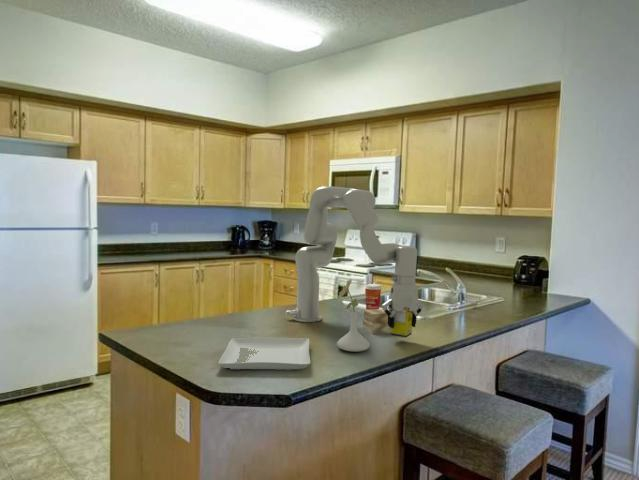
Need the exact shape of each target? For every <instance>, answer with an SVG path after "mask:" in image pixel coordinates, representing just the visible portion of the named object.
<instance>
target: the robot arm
mask: <svg viewBox="0 0 639 480" xmlns="http://www.w3.org/2000/svg"><path fill="white" fill-rule="evenodd" d="M375 206H376V197H375V195H374V194H373V193H372V192H371V191H369V190H364V189H356V188H350V187H342V186H340V187H339V186H332V185H331V186H329V185H327V186H320V187H318V188H316V189H314V191H313V192H312V193H311V195H310V199H309V209H308V214H307V217H306V223H305V228H304V232H303V239H304V242H305V243H306V244H307V245H312V246H303V247H301V248H299V249H298V250H297V252H296V253H295V255H294V256H295V257H294V259H295V266H296V276H297V277H296V284H297V285H296V286H297V287H296V307H294V309H292V310H285V316H292V319H293V320H294V321H296V322H299V323H300V322H302V323H315V322H316V321H317V322H320V321H322V320H323V316H322V315H320V314H319V311H320V310H319V303H320V275H319V272H318V271H317V268H324V267H325V268H326V267H327V266H329V265H330V263H331V262H332V260H333V256H334V253H335V248H336V246H337V245H336V244H337V240H338V231H337V229H336V226H335V225H334V224H333V223H331V222H328V221H329V220H328V219H329V210H328V208H343V209H346V210H347V211H348V213H349V214H350V216H351V217H352V220H353V221H354V222H355V224H356V226H357V227H358V229H359V239H360V240H359V241H360V245H361V247H362V249H363V251H364V253H365V254H366V255H367V257H368V258H369V259H370V260H371V262H372V263H374V264H375V265H380V266H381V265H388V264H395V265H394V275H393V276H391V279H390V280H391V281H393V282H392V284H391V288H390V292H389V299H388V300H387V301H385V302H384V303H382V304H381V309H383V310H384V312H385V313H386V314H387V315H388V326H389V327H391V328H394V317H393V316H394V314H395V313H396V312H402V311H403V308H408V307H409V308H410V310H409V311H410V312H411V311H413V317H412V328H416V325H417V317H418V316H419V314H420V313H421V312H422V310H423V309H424V306H425V304H424V303H422V302H421V301H420V300H419V288H418V284H417V283H416V276H417V275H416V274H417V262H418V261H417V260H418V258H417V257H418V250H417V248H416V247H415V246H411V245H402V244H398V243H395V242H394V243H393V242H390V243H382V242H381V240H380V239H379V238H378V237H377V235H376V231H375V227H376V226H377V225H378V223H379V221H380V218H379V216H378V214H377V213H376V211H375V210H374V208H375ZM313 245H314V246H313ZM388 308H389V309H388ZM392 310H393V311H392Z"/></svg>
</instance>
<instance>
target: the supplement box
mask: <svg viewBox="0 0 639 480" xmlns="http://www.w3.org/2000/svg"><path fill="white" fill-rule="evenodd" d="M409 310H410V308H409V307H408V308H403V311H402V312H396V313H395V314H394V316H393V317H394V328H391V333H390V335H391V336H397V337H401V338H408V337H409V336H412V332H413V331H412V330H413V326H412V317H413V311H411V312H410V311H409ZM392 311H393V310H392Z"/></svg>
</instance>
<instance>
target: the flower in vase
mask: <svg viewBox="0 0 639 480" xmlns="http://www.w3.org/2000/svg"><path fill="white" fill-rule="evenodd" d="M351 284H352V279H351V278H349V279H347V281H346V284H345V285H343V286H342V290H340V292H339V293H338V296H337V298H339V299H341V298H342V297H343V296H344V295H345V294H346V293H348V295H349V297H350V300H351V302H349V303H348V304H347V305H346V308H345V309H347V310H346V311H347V313H348V315H349V319H350V328H349V331H348V332H347V333H346V334H344V335H343V336H342V337H341V338H339V339H338V341H337V342H336V346H337V348H338V349H340V350H343V351H346V352H353V353H354V352H355V353H357V352H364V351H366V350H369V348H370V347H371V345H370V342H369V341H368V339H366V338H365V337H364V336H363V335H362V334H361V333H360V332H359V330H358V321H359V316H360V314H361V312H362V309H359V308H356V307H357V306H358V305H359V302H358V300H357V298H354V299H353V298H352V295H351V293H350V291H349V287H350V285H351ZM351 307H352V308H351Z"/></svg>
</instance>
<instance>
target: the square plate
mask: <svg viewBox="0 0 639 480" xmlns="http://www.w3.org/2000/svg"><path fill="white" fill-rule="evenodd" d="M241 347H242V348H248V349H249V350H250V349H251V350H252V351H253V350H254V349H255V351H256V352H257V351H259V352H257V354H255V353H254V354H253V355H254V356H253V355H252V354H251V355H250V354H249V357H250V356H251V357H250V358H249V357H248V359H249V360H248V359H247V360H248V361H247V360H246V362H242V363H235V362H237V359H238V358H239V355H240V354H239V352H240V348H241ZM249 350H248V351H249ZM251 350H250V351H251ZM255 351H254V352H255ZM246 358H247V357H246ZM217 364H218V365H219V366H220V367H222V368H223V369H226V368H230V369H229V370H240V369H293V370H303V369H305V368H307V367H308V366H309V365H311V356H310V338H306V337H305V338H303V337H300V338H299V337H298V338H297V337H296V338H295V337H233V338H230V341H229V343H228V344H227V346H226V349H225V350H224V351H223V354H222V355H221V357H220V358H219V360H218V363H217Z"/></svg>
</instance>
